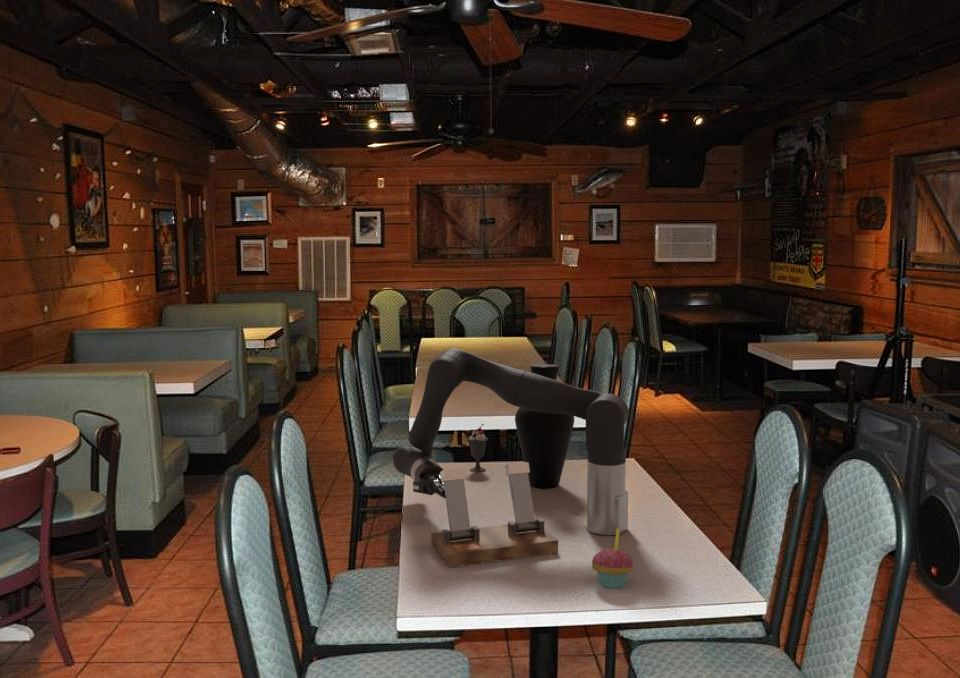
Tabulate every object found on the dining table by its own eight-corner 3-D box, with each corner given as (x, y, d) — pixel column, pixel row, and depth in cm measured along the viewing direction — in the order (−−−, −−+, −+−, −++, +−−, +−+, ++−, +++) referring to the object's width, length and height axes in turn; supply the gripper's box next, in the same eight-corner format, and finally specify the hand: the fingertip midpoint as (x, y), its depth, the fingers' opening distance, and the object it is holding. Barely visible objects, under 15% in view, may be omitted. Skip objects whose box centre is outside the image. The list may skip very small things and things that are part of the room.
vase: (506, 479, 248) (506, 363, 244) (560, 474, 253) (560, 360, 249) (527, 496, 231) (527, 372, 227) (583, 490, 236) (584, 369, 232)
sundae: (488, 473, 255) (488, 425, 253) (466, 473, 255) (466, 425, 253) (488, 467, 261) (488, 420, 260) (467, 467, 262) (467, 420, 260)
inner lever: (535, 530, 195) (524, 464, 200) (539, 529, 193) (528, 462, 198) (514, 533, 193) (504, 465, 198) (518, 532, 191) (507, 464, 196)
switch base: (534, 532, 202) (534, 510, 202) (558, 552, 189) (558, 528, 188) (431, 545, 194) (431, 522, 193) (448, 567, 181) (448, 542, 180)
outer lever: (470, 539, 190) (461, 470, 195) (473, 537, 188) (464, 468, 192) (449, 541, 188) (440, 472, 193) (451, 540, 186) (442, 470, 191)
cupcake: (605, 572, 178) (606, 518, 176) (641, 582, 172) (642, 526, 171) (583, 585, 171) (584, 529, 170) (620, 596, 166) (621, 538, 164)
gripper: (452, 487, 216) (473, 506, 200) (403, 492, 212) (420, 512, 195) (452, 458, 215) (473, 476, 199) (402, 463, 211) (420, 481, 195)
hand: (447, 494), depth 197 cm, fingers closed
